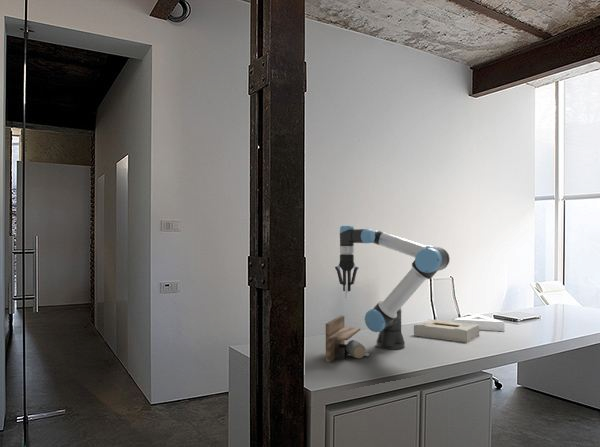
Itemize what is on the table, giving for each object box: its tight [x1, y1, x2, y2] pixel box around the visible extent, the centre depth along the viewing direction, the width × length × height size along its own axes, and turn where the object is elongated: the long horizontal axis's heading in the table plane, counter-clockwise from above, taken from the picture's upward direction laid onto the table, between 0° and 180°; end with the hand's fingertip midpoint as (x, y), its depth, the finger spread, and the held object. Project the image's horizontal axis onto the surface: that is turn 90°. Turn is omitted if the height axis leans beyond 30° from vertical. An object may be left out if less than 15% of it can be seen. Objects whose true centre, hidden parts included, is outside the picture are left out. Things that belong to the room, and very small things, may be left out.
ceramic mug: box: [346, 339, 370, 359], centre depth 238 cm, size 11×8×8 cm
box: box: [413, 318, 480, 343], centre depth 288 cm, size 23×8×32 cm
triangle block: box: [453, 314, 505, 332], centre depth 317 cm, size 30×26×6 cm
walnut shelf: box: [325, 314, 361, 363], centre depth 238 cm, size 10×26×18 cm, turn 159°
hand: (346, 297), depth 261 cm, fingers closed
